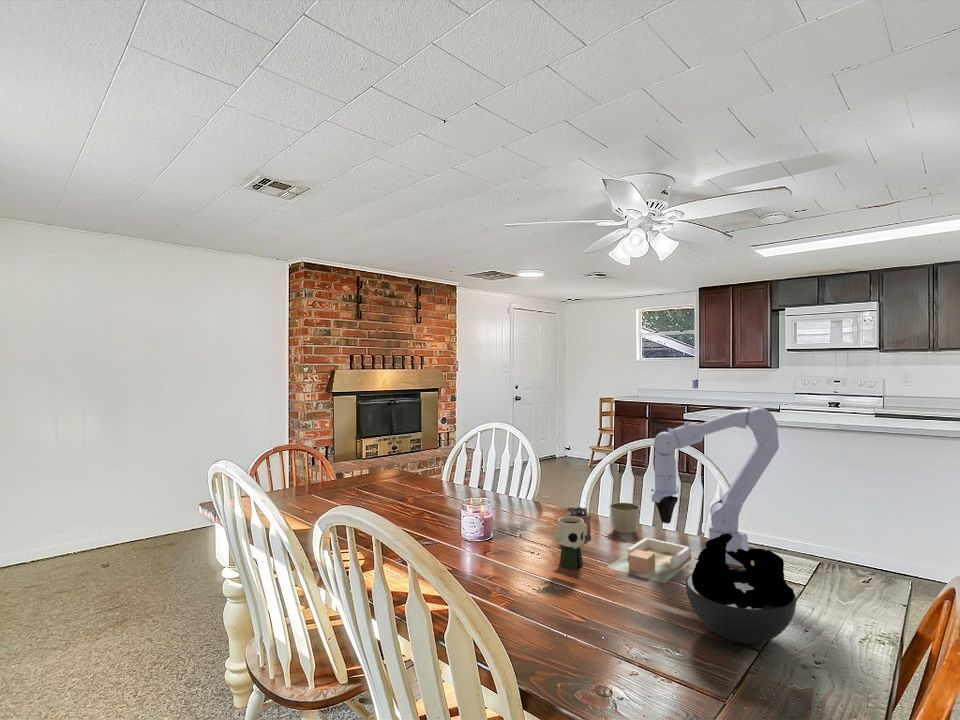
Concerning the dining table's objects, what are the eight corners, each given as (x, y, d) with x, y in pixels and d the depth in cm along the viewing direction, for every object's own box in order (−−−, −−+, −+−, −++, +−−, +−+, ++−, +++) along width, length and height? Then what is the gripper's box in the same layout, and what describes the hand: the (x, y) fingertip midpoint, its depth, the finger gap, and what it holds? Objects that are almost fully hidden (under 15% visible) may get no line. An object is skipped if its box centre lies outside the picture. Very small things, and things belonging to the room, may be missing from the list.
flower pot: (633, 540, 167) (633, 512, 167) (605, 534, 173) (604, 507, 173) (644, 532, 175) (644, 505, 175) (617, 527, 181) (616, 501, 181)
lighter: (590, 537, 171) (590, 505, 171) (591, 540, 167) (591, 508, 167) (564, 536, 171) (564, 505, 171) (565, 540, 168) (565, 508, 168)
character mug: (563, 577, 140) (562, 526, 140) (547, 568, 146) (546, 519, 146) (595, 568, 145) (595, 520, 145) (578, 560, 151) (577, 513, 151)
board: (696, 561, 149) (696, 557, 149) (664, 587, 133) (664, 582, 133) (641, 548, 160) (641, 545, 160) (605, 571, 143) (605, 567, 143)
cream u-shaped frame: (690, 556, 150) (690, 547, 150) (674, 569, 141) (674, 559, 141) (646, 546, 159) (645, 537, 159) (627, 557, 150) (627, 548, 150)
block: (655, 568, 142) (654, 553, 142) (647, 574, 138) (646, 559, 138) (637, 564, 145) (636, 549, 145) (628, 570, 141) (628, 554, 141)
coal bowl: (796, 677, 95) (794, 570, 95) (676, 647, 105) (675, 550, 105) (798, 628, 112) (796, 537, 112) (695, 606, 122) (694, 523, 122)
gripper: (661, 468, 162) (662, 514, 162) (641, 477, 151) (641, 525, 151) (685, 471, 157) (686, 518, 157) (665, 480, 146) (666, 530, 146)
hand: (666, 522), depth 154 cm, fingers closed
